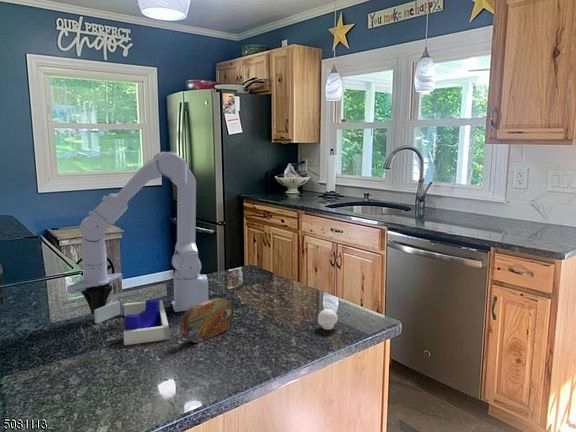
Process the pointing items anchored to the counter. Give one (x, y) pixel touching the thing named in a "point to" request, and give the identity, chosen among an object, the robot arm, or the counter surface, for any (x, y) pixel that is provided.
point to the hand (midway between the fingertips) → (97, 313)
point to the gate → (108, 311)
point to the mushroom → (327, 319)
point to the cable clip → (144, 317)
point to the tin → (206, 319)
